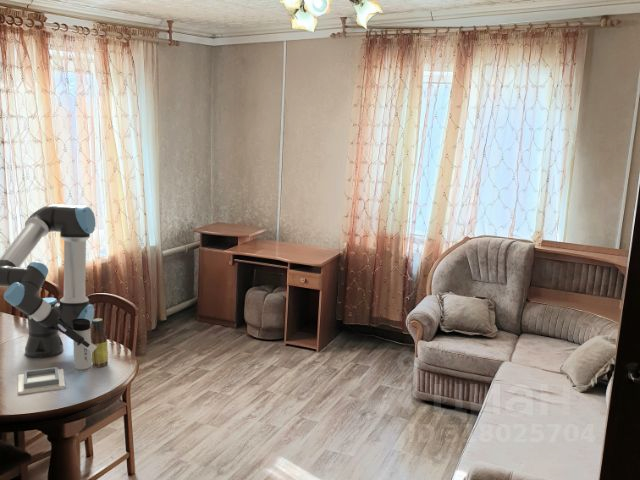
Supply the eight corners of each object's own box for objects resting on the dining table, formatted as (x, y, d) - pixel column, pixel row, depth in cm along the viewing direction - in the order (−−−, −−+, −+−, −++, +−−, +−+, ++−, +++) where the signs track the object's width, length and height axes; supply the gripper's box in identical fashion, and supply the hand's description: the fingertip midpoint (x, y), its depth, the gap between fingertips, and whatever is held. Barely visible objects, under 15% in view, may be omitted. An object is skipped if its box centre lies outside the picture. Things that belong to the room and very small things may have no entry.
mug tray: (18, 376, 235) (18, 369, 234) (62, 371, 242) (62, 364, 241) (18, 394, 221) (17, 387, 220) (65, 387, 228) (64, 380, 227)
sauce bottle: (111, 363, 251) (110, 318, 247) (101, 369, 246) (99, 323, 241) (98, 360, 253) (97, 316, 249) (88, 366, 248) (86, 320, 244)
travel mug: (76, 364, 235) (74, 316, 231) (93, 365, 236) (92, 317, 231) (71, 371, 229) (69, 322, 225) (89, 372, 230) (87, 323, 225)
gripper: (31, 313, 226) (78, 345, 239) (43, 330, 211) (92, 363, 224) (45, 298, 228) (91, 330, 241) (58, 313, 213) (106, 347, 226)
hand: (91, 346), depth 233 cm, fingers closed on travel mug, 6 cm apart
